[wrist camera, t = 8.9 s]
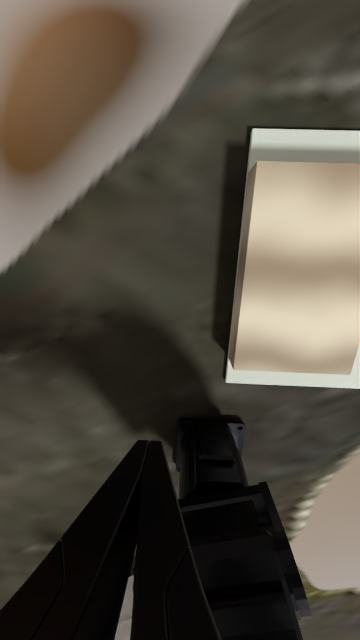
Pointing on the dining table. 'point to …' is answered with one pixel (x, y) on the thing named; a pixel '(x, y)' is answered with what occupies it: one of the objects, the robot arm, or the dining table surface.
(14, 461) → the dining table surface
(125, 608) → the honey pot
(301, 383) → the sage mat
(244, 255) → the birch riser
